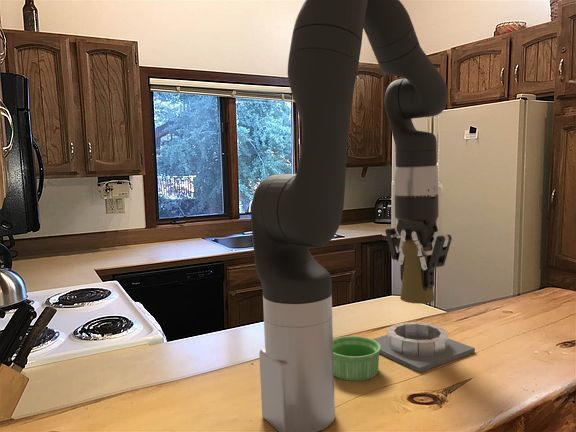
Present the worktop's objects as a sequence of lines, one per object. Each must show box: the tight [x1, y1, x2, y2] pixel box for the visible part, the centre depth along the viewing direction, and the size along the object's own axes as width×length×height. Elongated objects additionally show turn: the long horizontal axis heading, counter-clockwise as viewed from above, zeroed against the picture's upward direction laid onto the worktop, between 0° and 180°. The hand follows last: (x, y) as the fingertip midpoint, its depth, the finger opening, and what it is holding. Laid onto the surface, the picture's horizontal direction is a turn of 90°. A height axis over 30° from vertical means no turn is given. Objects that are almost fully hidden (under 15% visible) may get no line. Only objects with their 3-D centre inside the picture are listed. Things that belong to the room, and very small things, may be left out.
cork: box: [399, 240, 435, 305], centre depth 84 cm, size 6×6×11 cm
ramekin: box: [333, 335, 381, 382], centre depth 77 cm, size 9×9×4 cm
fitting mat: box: [372, 334, 476, 374], centre depth 85 cm, size 14×14×1 cm
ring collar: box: [386, 321, 449, 357], centre depth 85 cm, size 10×10×2 cm
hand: (417, 286), depth 84 cm, fingers closed on cork, 4 cm apart
